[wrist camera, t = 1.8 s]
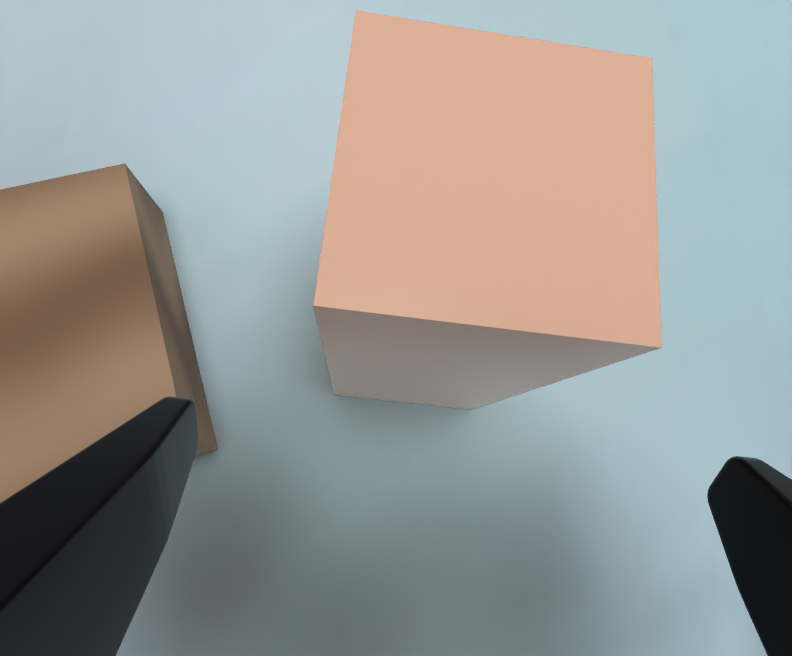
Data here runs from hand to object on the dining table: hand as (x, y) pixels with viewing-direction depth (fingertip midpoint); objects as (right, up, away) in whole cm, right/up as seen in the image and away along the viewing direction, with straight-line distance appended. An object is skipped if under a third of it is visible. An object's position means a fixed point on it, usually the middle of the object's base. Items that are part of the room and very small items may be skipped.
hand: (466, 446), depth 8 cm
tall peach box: (-1, +2, +12) cm, 12 cm away
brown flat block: (-14, +1, +11) cm, 18 cm away
